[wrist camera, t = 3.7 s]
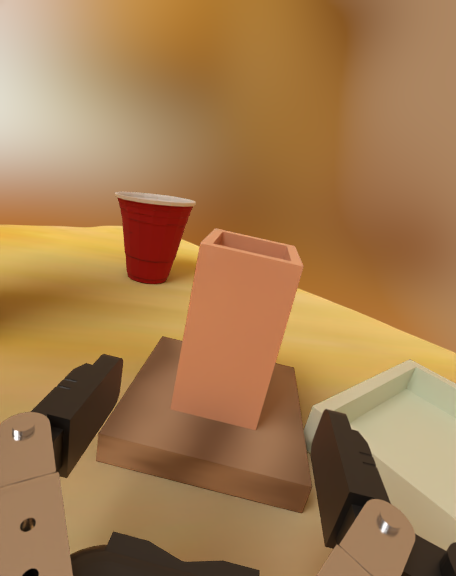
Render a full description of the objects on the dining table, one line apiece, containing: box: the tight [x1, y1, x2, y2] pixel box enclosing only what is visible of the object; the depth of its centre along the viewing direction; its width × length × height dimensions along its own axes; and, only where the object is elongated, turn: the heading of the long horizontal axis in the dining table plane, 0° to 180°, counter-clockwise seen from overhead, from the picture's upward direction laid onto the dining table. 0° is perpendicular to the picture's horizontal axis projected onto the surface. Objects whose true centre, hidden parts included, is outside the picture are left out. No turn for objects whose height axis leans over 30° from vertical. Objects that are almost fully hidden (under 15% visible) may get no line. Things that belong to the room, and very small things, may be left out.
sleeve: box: [170, 228, 303, 430], centre depth 22 cm, size 6×6×11 cm
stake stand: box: [96, 336, 312, 513], centre depth 23 cm, size 12×12×8 cm
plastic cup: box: [115, 192, 196, 284], centre depth 47 cm, size 11×11×12 cm
